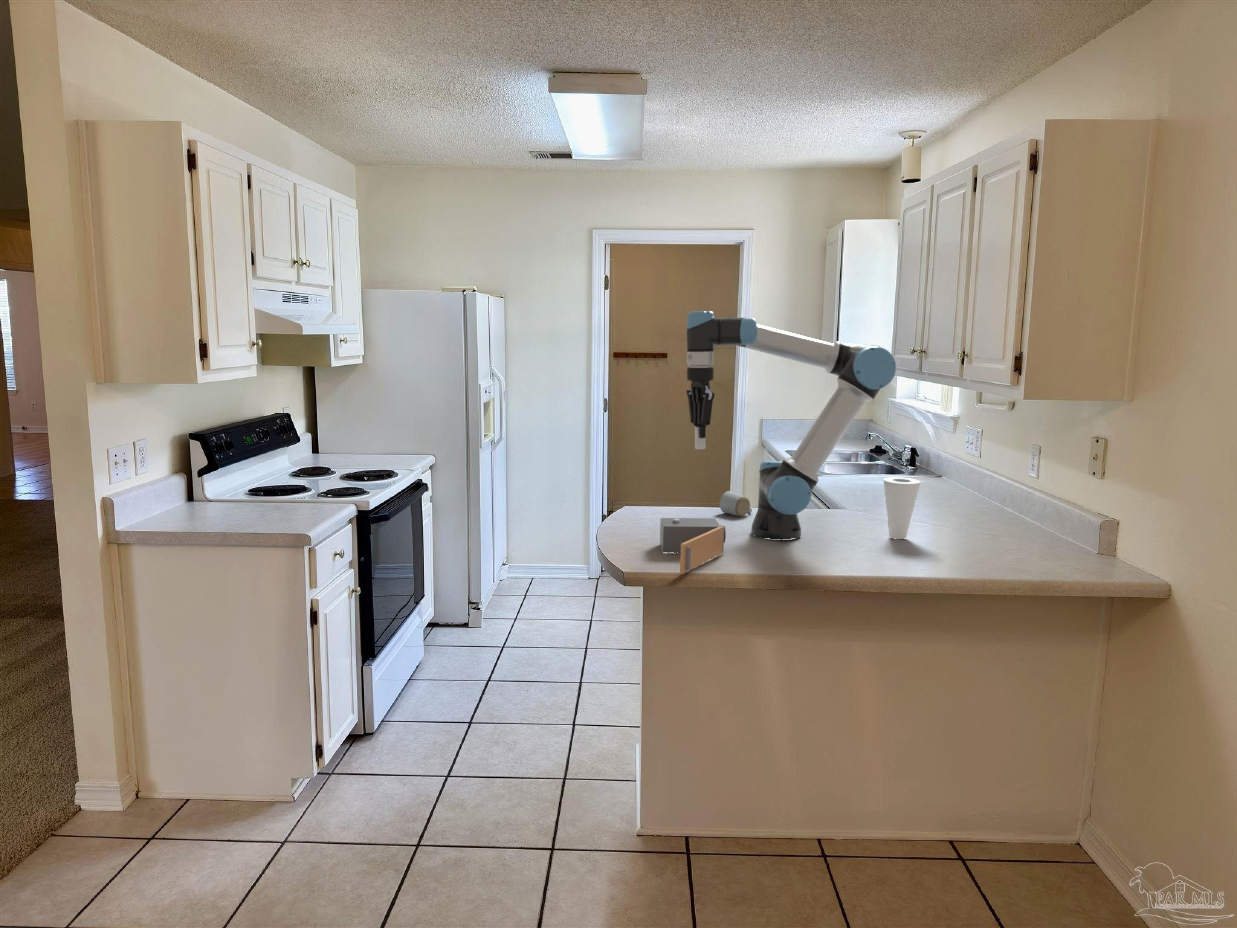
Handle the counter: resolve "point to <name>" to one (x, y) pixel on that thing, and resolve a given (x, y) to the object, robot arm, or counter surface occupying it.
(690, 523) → the camera housing
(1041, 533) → the counter surface
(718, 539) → the door
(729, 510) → the ceramic mug
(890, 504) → the cup
